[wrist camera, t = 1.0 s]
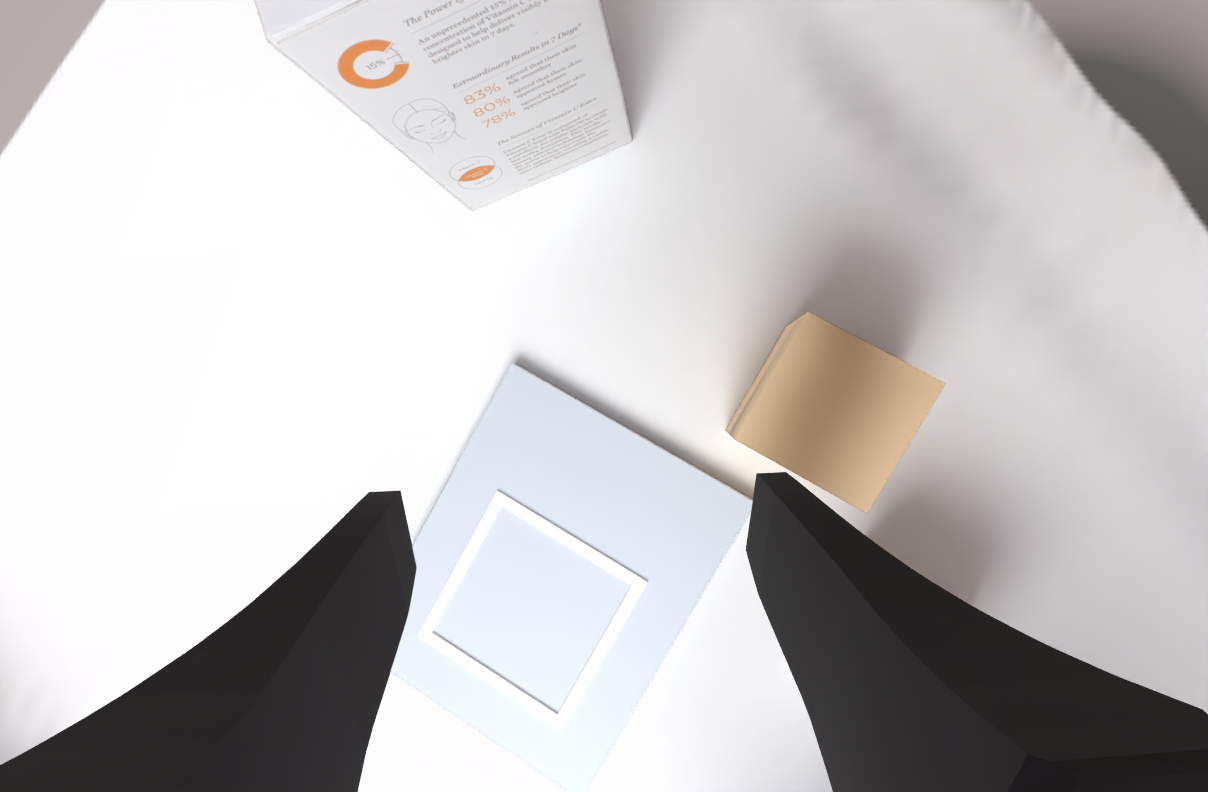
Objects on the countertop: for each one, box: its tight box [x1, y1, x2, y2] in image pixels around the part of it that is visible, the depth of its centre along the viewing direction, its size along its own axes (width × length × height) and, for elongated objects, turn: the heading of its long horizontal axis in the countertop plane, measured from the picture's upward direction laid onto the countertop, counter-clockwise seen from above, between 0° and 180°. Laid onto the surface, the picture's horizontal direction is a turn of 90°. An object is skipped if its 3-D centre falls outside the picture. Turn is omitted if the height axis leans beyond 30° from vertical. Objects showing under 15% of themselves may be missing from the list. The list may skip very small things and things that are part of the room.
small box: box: [254, 0, 632, 211], centre depth 20 cm, size 8×6×13 cm
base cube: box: [725, 312, 946, 513], centre depth 22 cm, size 5×5×5 cm
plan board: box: [391, 363, 753, 792], centre depth 26 cm, size 12×15×1 cm
